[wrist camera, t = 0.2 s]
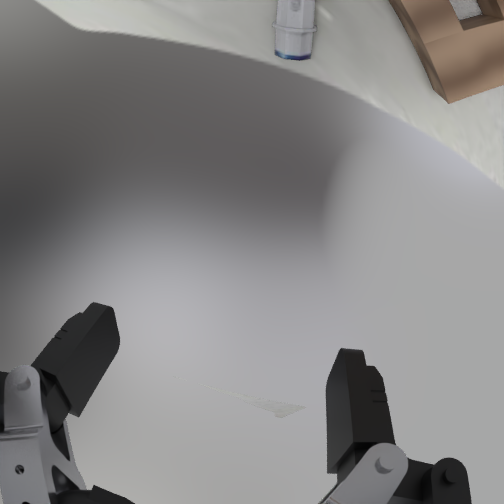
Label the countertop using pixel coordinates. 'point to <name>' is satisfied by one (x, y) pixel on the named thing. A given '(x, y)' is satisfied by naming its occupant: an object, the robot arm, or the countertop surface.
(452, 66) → the hole block
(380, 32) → the countertop surface
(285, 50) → the white electric toothbrush
